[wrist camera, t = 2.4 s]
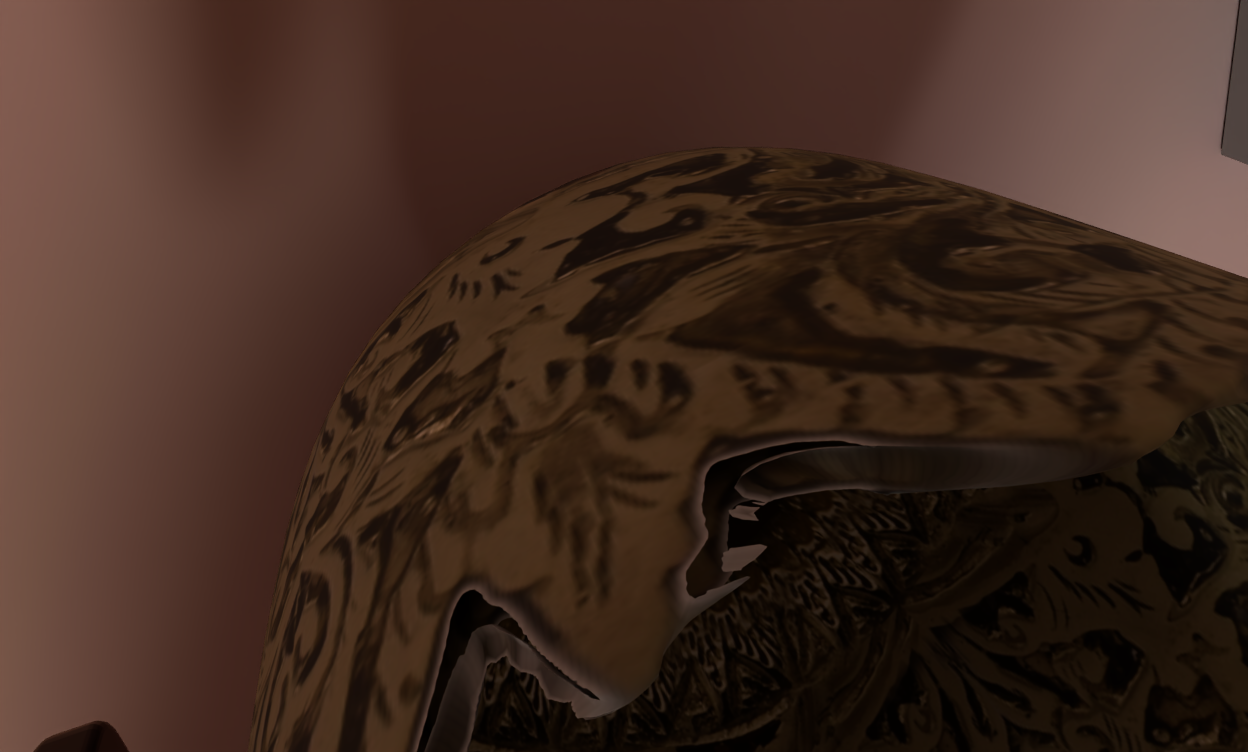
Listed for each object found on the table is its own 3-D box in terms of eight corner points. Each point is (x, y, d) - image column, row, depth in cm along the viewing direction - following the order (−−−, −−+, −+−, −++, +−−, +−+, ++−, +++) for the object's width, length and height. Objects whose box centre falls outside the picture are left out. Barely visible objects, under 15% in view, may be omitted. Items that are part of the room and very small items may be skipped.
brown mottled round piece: (81, 507, 11) (-176, 1726, 4) (451, -199, 9) (1127, -138, 2) (668, 684, 14) (1048, 1481, 8) (1017, 210, 12) (1927, 710, 6)
